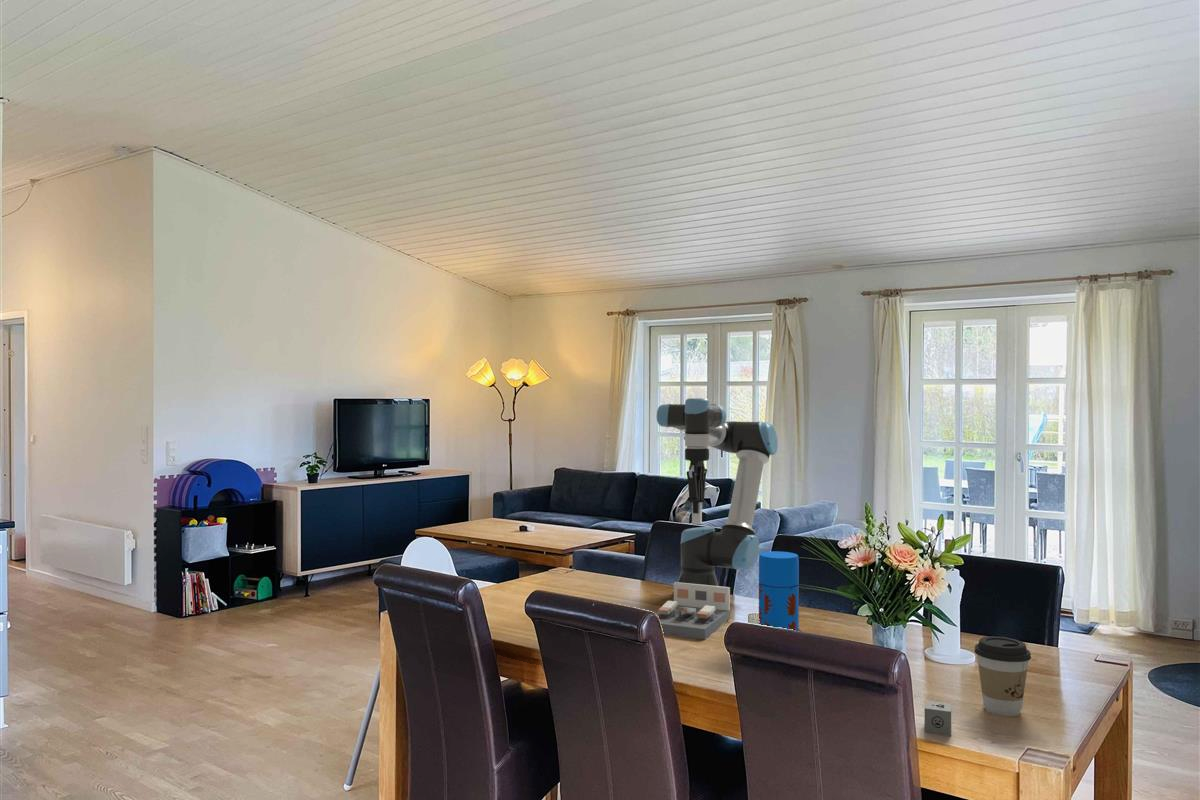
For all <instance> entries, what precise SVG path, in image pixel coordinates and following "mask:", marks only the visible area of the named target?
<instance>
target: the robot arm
mask: <svg viewBox="0 0 1200 800" xmlns="http://www.w3.org/2000/svg"><path fill="white" fill-rule="evenodd" d="M726 419H727V412H726V410H725V408H724V407H723V406H722V405H719V404H716V403H712V404H710V400H709V399H708V398H705V397H704V398H697V397H696V398H693V397H692V398H689V397H688V398H686V399H685V403H684V404H676V403H675V404H674V403H665V404H660V405H659V406H658V408H657V410H656V421H657V423H658V425H659V426H660V427H665V428H674V429H677V430H679V431H681V432H684V437H683V440H684V447H685V449H684V460H685V461H689V462H690V463H689V467H688V471H686V477H687V484H688V485H687V486H688V487H687V488H688V497H689V499H688V502H689V503H691V523H692V524H694V525H696V524H697V525H700V524H702V523H703V514H702V513H703V503H705V501H706V500H705V492H706V479H707V472H708V469H707V468H706V467H705V463H704V461H709V460H710V449H709V448H708V447H711V448H714V449H716V450H720V451H721V452H726V453H729V454H730V453H731V454H736V457H737V459H738V466H737V471H736V477H735V481H734V487H733V491H732V497H731V501H730V507H729V511H728V516H727V522H725V523H724V524H722V526H721V529H720V532H719V531H718V532H717V531H716V529H715V528H714V527H713V526H699V527H692V528H686V529H684V530H683V531H682V532H681V537H680V542H679V544H680V574H679V577H678V580H677V582H681V583H691V584H701V585H711V586H720V585H719V583H718V580H717V576H716V574H715V567H719V568H725V569H727V568H728V569H734V570H749V569H751V568H752V566H754V565H755V563H756V562H757V560H758V558H759V557H758V556H759V554H760V547H759V546H760V541H759V538H758V537H757V536H756V531H755V530H754V529H753V523H754V518H755V514H756V513H755V512H756V507H757V504H758V503H757V502H758V495H759V493H760V492H759V491H760V484H761V480H762V474H763V469H764V465H765V464H767V463H769V459H770V456H773V455H776V453H777V451H778V435H777V431H776V428H775V426H774V425H773V424H772V423H771V422H766V421H765V422H764V421H727V420H726Z"/></svg>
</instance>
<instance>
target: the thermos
mask: <svg viewBox="0 0 1200 800" xmlns="http://www.w3.org/2000/svg"><path fill="white" fill-rule="evenodd" d="M758 556H759V557H758V625H759V624H761V625H767V626H773V627H782V628H787V629H793V630H796V631H800V630H799V629H800V627H799V625H800V624H799V623H800V622H799V621H800V620H799V619H800V618H799V613H800V610H799V609H800V608H799V607H800V605H799V604H800V603H799V602H800V601H799V598H800V597H799V594H800V593H799V591H800V590H799V589H800V587H799V586H800V585H799V583H800V581H799V579H800V574H799V573H800V572H799V571H800V570H799V569H800V568H799V567H800V566H799V565H800V562H799V555H798V554H797V553H795V552H789V551H778V550H777V551H775V550H774V551H771V550H770V551H764V552H759V554H758ZM759 619H760V620H759ZM759 621H760V623H759Z"/></svg>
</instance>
